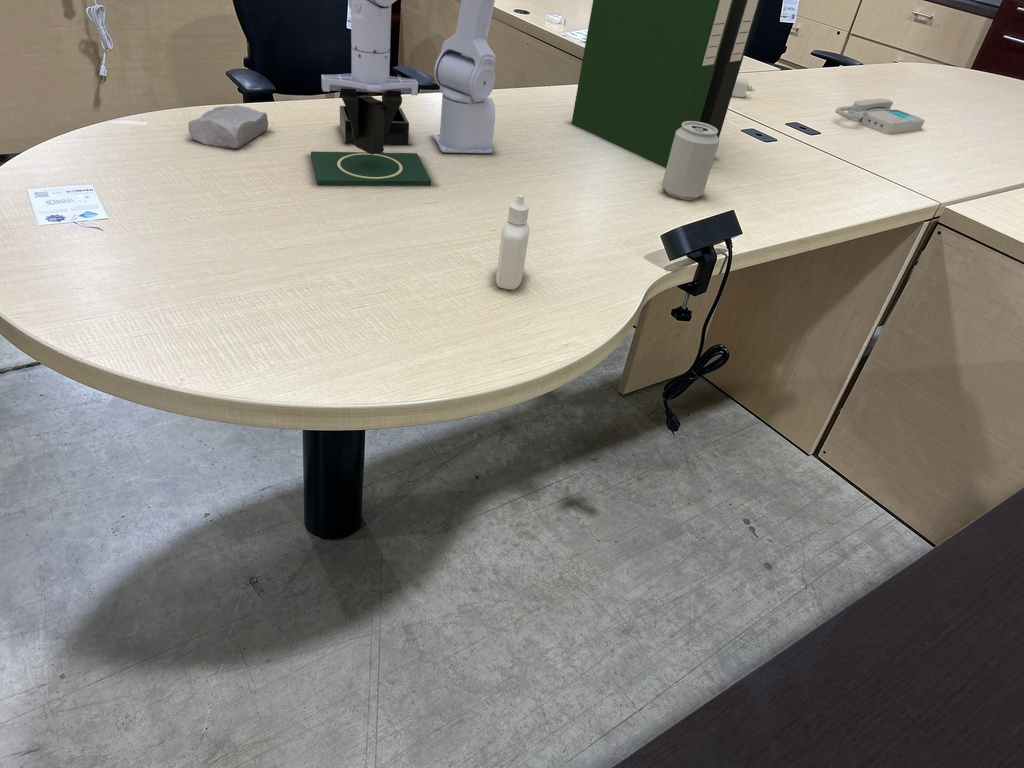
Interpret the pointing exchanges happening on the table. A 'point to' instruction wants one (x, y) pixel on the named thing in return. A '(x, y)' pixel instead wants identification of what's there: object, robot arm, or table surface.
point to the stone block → (228, 126)
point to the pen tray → (396, 132)
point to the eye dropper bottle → (513, 246)
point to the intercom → (881, 116)
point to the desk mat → (368, 168)
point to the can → (690, 160)
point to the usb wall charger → (741, 88)
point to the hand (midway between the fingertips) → (369, 138)
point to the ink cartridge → (371, 124)
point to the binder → (659, 69)
